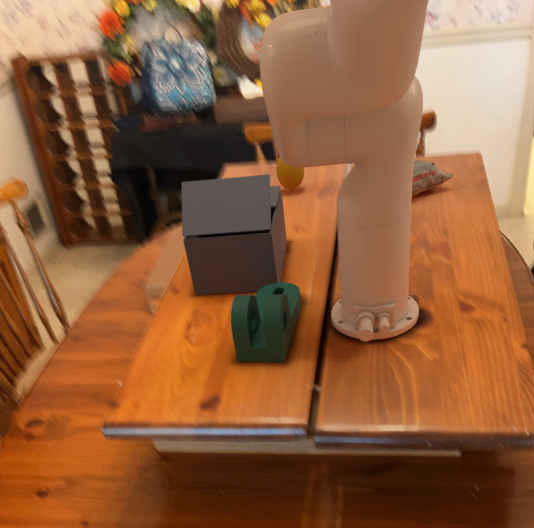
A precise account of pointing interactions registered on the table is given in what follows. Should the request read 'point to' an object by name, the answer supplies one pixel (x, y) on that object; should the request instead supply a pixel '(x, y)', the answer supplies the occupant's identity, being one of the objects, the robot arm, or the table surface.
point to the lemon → (289, 175)
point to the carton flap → (226, 205)
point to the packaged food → (427, 177)
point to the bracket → (265, 322)
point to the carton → (239, 256)
